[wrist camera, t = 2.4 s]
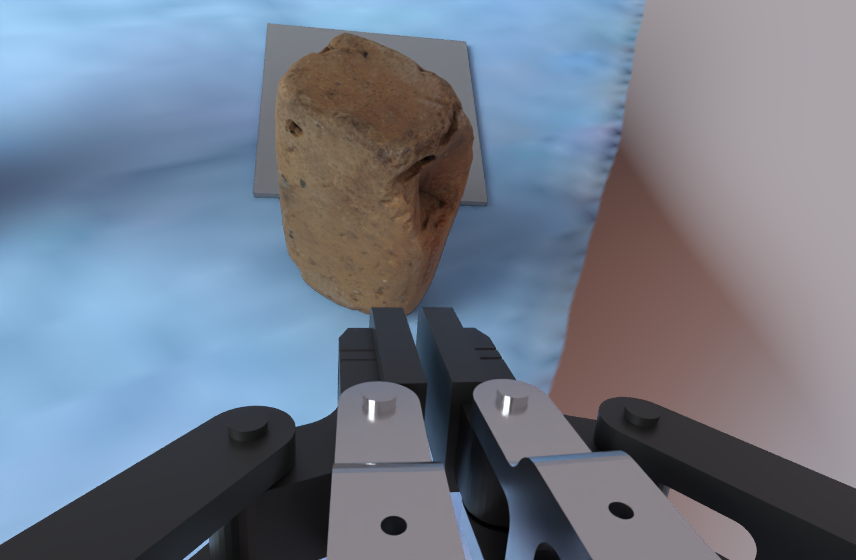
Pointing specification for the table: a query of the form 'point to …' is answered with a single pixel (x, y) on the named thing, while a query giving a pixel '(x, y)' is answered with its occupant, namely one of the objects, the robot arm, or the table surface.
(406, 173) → the rough sandstone rock
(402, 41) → the mat
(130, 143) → the table surface
